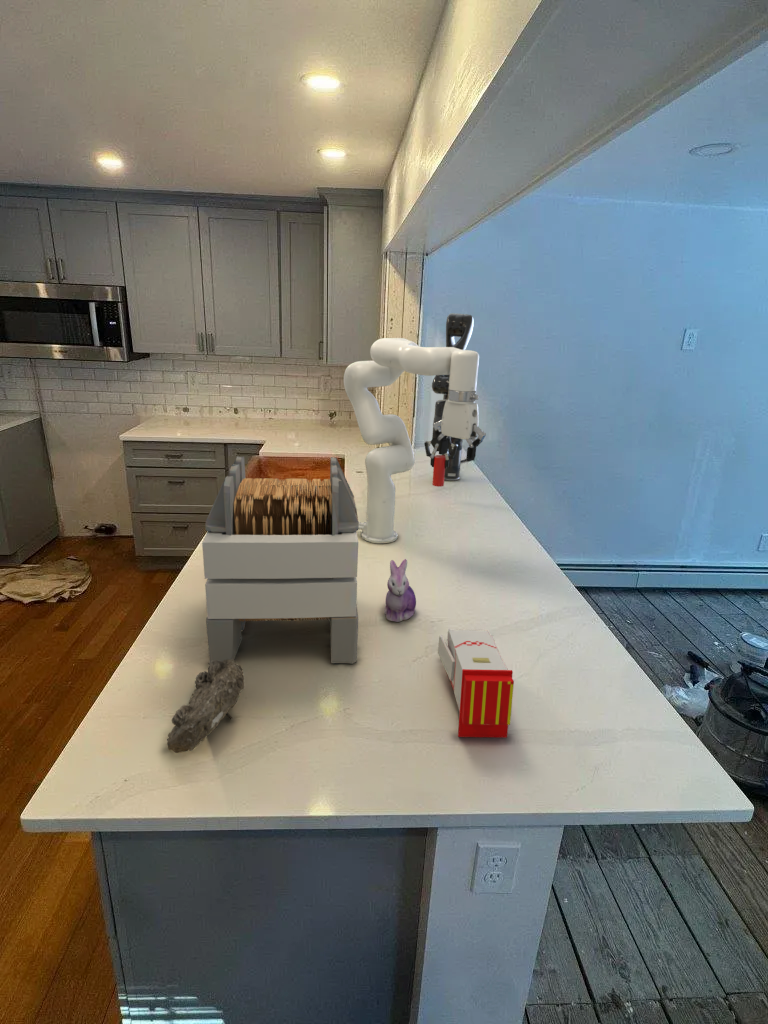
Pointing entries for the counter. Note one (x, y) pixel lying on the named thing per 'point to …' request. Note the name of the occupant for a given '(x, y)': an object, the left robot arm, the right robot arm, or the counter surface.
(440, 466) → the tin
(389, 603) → the figurine
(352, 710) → the counter surface
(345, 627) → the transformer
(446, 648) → the toy
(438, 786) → the counter surface
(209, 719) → the fossil
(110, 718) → the counter surface
